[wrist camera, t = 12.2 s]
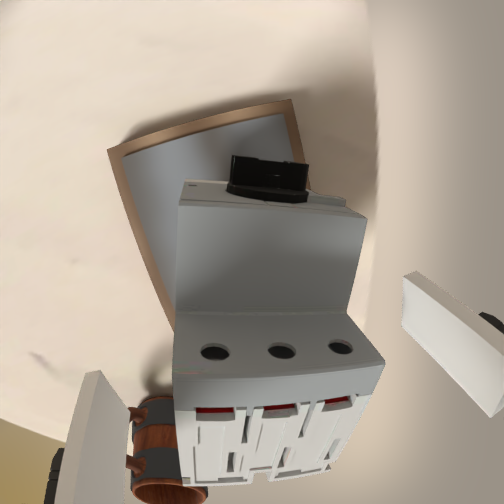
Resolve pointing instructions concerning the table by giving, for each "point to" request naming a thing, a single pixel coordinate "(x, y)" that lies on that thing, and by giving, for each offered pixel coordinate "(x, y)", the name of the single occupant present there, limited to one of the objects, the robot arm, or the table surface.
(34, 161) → the table surface
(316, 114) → the table surface
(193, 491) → the mug
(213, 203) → the circuit breaker
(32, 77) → the table surface
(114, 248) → the table surface
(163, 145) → the framed panel
